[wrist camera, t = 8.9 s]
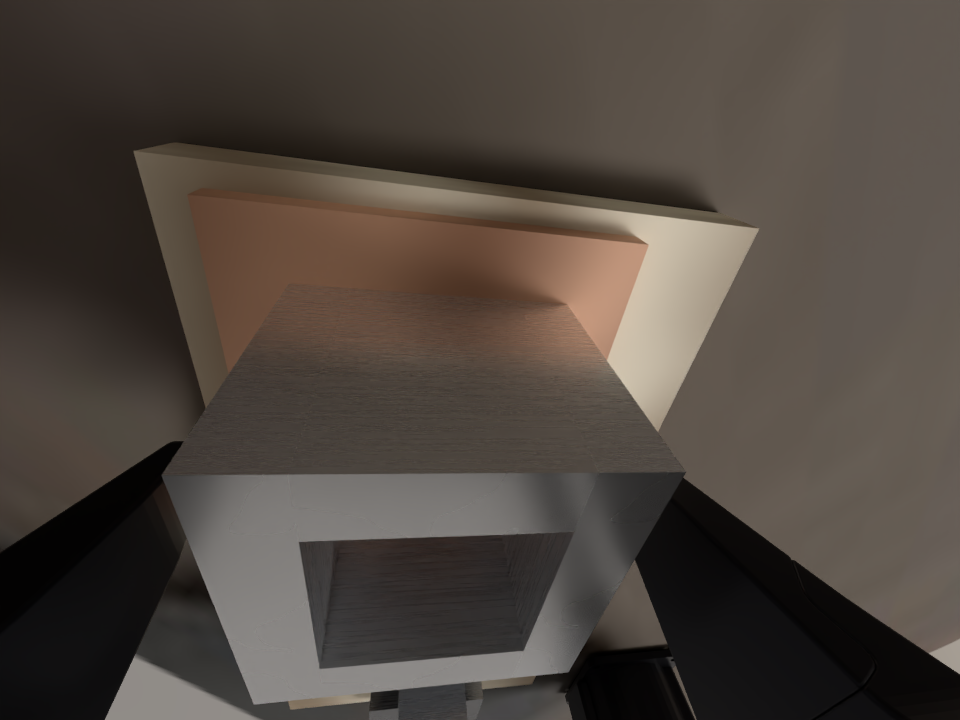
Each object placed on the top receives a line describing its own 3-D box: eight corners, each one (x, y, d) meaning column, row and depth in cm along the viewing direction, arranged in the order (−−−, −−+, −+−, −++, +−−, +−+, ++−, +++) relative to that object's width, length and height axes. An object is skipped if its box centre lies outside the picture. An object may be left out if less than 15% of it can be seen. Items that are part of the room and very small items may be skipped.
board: (720, 213, 11) (777, 236, 9) (526, 654, 25) (534, 696, 23) (174, 142, 8) (112, 154, 7) (297, 674, 22) (287, 724, 20)
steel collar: (567, 304, 9) (685, 471, 5) (518, 480, 13) (568, 672, 8) (288, 283, 8) (160, 475, 4) (312, 483, 11) (254, 704, 7)
